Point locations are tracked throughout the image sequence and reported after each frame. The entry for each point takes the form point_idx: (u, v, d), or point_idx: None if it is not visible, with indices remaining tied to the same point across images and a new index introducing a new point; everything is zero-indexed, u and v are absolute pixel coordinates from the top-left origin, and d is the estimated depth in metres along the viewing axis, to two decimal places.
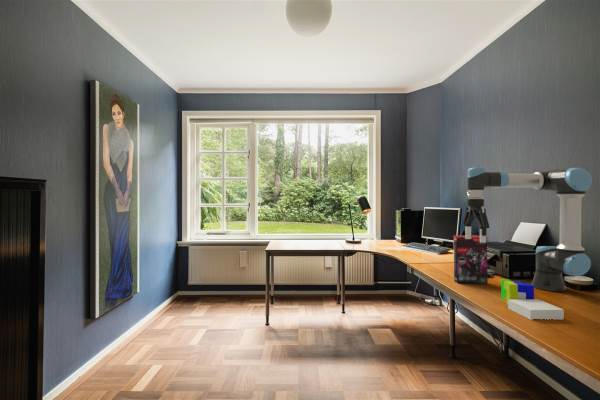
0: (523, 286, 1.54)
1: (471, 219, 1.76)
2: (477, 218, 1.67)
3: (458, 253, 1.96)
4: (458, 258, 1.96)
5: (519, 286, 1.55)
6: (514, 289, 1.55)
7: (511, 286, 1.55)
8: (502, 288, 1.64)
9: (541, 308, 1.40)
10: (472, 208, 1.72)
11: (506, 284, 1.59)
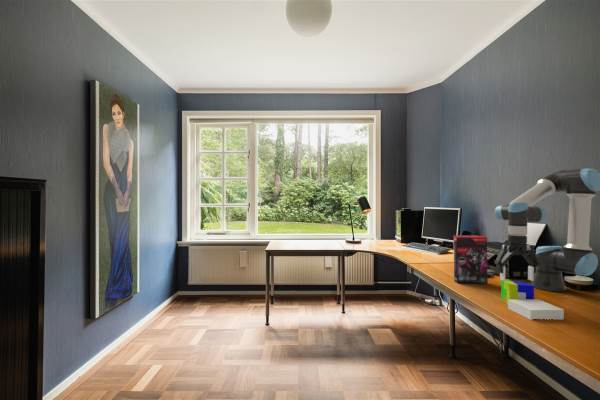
0: (523, 286, 1.54)
1: (526, 258, 1.59)
2: None
3: (458, 253, 1.96)
4: (458, 258, 1.96)
5: (519, 286, 1.55)
6: (514, 289, 1.55)
7: (511, 286, 1.55)
8: (502, 288, 1.64)
9: (541, 308, 1.40)
10: None
11: (506, 284, 1.59)
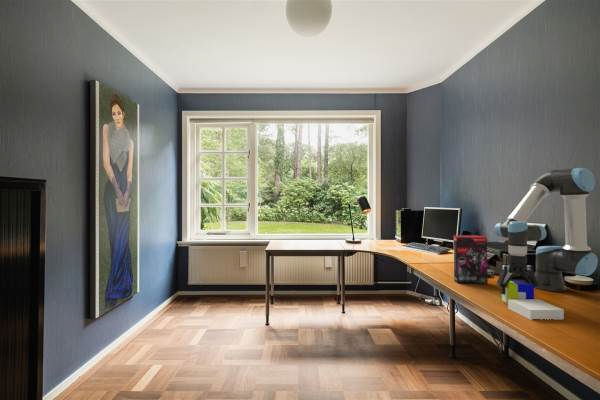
0: (523, 286, 1.54)
1: (525, 278, 1.59)
2: None
3: (458, 253, 1.96)
4: (458, 258, 1.96)
5: (519, 286, 1.55)
6: (514, 289, 1.55)
7: (511, 286, 1.55)
8: None
9: (541, 308, 1.40)
10: None
11: None
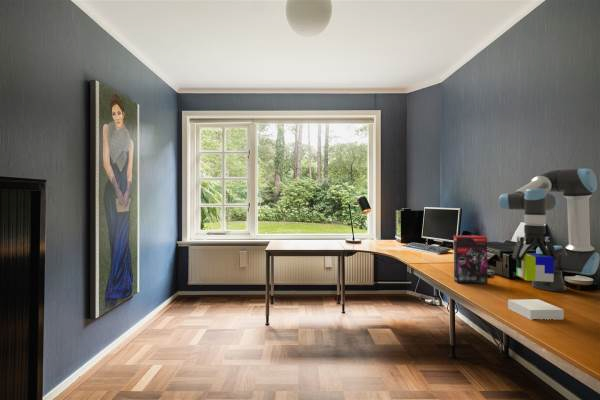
0: (541, 258, 1.40)
1: (543, 251, 1.45)
2: None
3: (458, 253, 1.96)
4: (458, 258, 1.96)
5: (537, 258, 1.41)
6: (531, 261, 1.41)
7: (528, 258, 1.41)
8: None
9: (541, 308, 1.40)
10: None
11: None
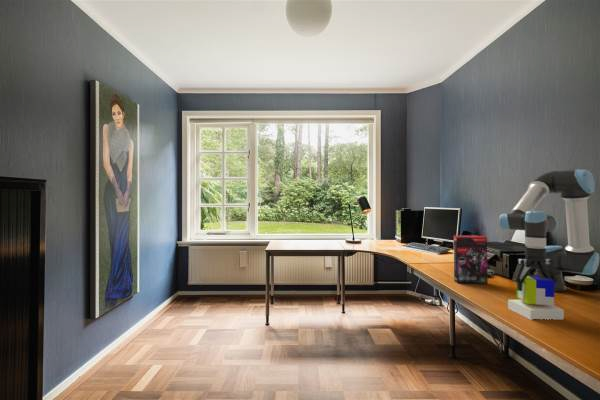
0: (542, 281, 1.40)
1: (544, 273, 1.45)
2: None
3: (458, 253, 1.96)
4: (458, 258, 1.96)
5: (538, 281, 1.41)
6: (532, 285, 1.41)
7: (529, 281, 1.41)
8: None
9: (541, 308, 1.40)
10: None
11: None
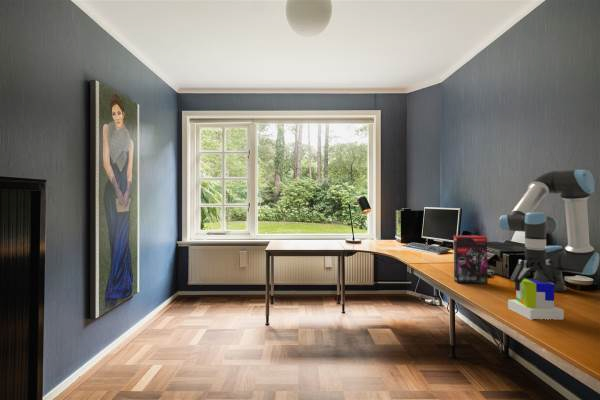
0: (542, 285, 1.40)
1: (545, 274, 1.45)
2: None
3: (458, 253, 1.96)
4: (458, 258, 1.96)
5: (538, 285, 1.41)
6: (532, 288, 1.41)
7: (529, 285, 1.41)
8: None
9: (541, 308, 1.40)
10: None
11: (523, 283, 1.45)
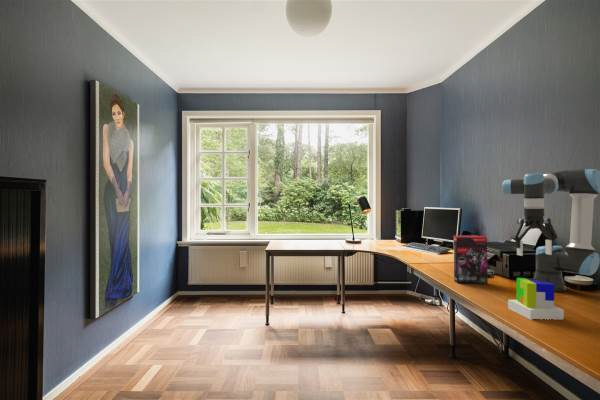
0: (542, 285, 1.40)
1: (543, 231, 1.53)
2: None
3: (458, 253, 1.96)
4: (458, 258, 1.96)
5: (538, 285, 1.41)
6: (532, 288, 1.41)
7: (529, 285, 1.41)
8: (518, 288, 1.50)
9: (541, 308, 1.40)
10: None
11: (523, 283, 1.45)
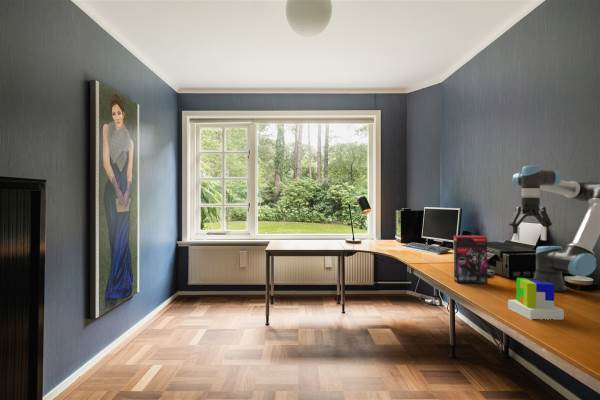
0: (542, 285, 1.40)
1: (539, 219, 1.68)
2: None
3: (458, 253, 1.96)
4: (458, 258, 1.96)
5: (538, 285, 1.41)
6: (532, 288, 1.41)
7: (529, 285, 1.41)
8: (518, 288, 1.50)
9: (541, 308, 1.40)
10: None
11: (523, 283, 1.45)
